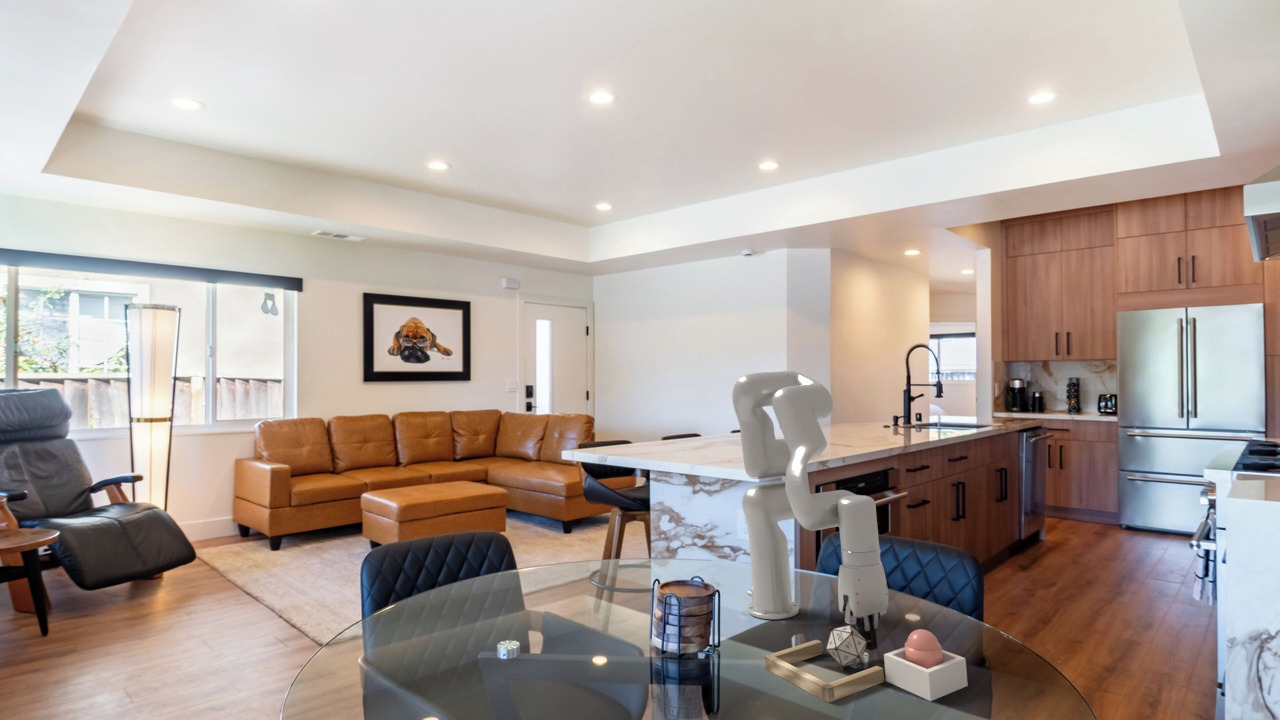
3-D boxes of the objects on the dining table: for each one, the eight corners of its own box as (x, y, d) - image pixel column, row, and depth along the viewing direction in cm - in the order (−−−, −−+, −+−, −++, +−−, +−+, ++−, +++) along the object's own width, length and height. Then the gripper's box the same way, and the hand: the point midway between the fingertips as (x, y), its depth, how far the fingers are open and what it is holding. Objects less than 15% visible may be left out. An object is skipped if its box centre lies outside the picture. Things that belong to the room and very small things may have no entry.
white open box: (886, 681, 128) (883, 654, 128) (922, 667, 133) (920, 641, 133) (930, 701, 119) (928, 672, 120) (967, 685, 124) (965, 658, 124)
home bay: (765, 668, 137) (764, 656, 137) (817, 651, 144) (816, 639, 144) (828, 702, 121) (827, 688, 121) (884, 681, 128) (883, 668, 128)
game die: (859, 687, 134) (873, 657, 129) (816, 671, 136) (828, 641, 131) (862, 649, 141) (876, 619, 136) (821, 634, 143) (833, 605, 138)
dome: (898, 660, 128) (896, 629, 128) (921, 651, 131) (919, 621, 131) (927, 672, 122) (924, 639, 122) (950, 662, 125) (948, 631, 125)
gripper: (872, 547, 146) (880, 633, 145) (820, 560, 139) (828, 651, 138) (900, 553, 139) (909, 644, 138) (848, 567, 132) (856, 663, 131)
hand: (868, 647), depth 138 cm, fingers closed
